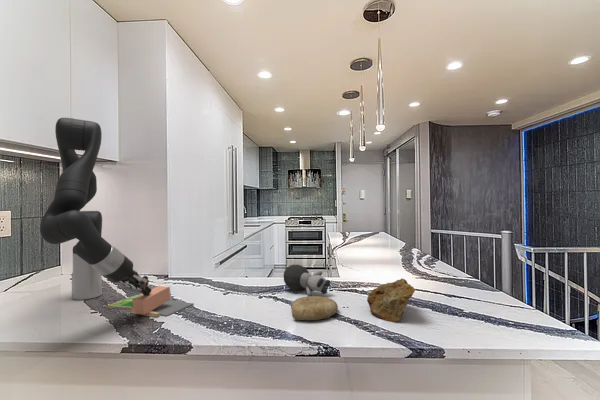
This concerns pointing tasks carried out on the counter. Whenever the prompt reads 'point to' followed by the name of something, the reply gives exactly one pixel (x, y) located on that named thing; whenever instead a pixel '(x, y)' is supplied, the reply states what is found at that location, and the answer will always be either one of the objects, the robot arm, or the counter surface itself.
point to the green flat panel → (124, 303)
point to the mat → (171, 307)
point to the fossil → (313, 308)
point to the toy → (304, 280)
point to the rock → (390, 300)
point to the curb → (152, 314)
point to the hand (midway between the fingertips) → (148, 292)
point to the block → (151, 299)
